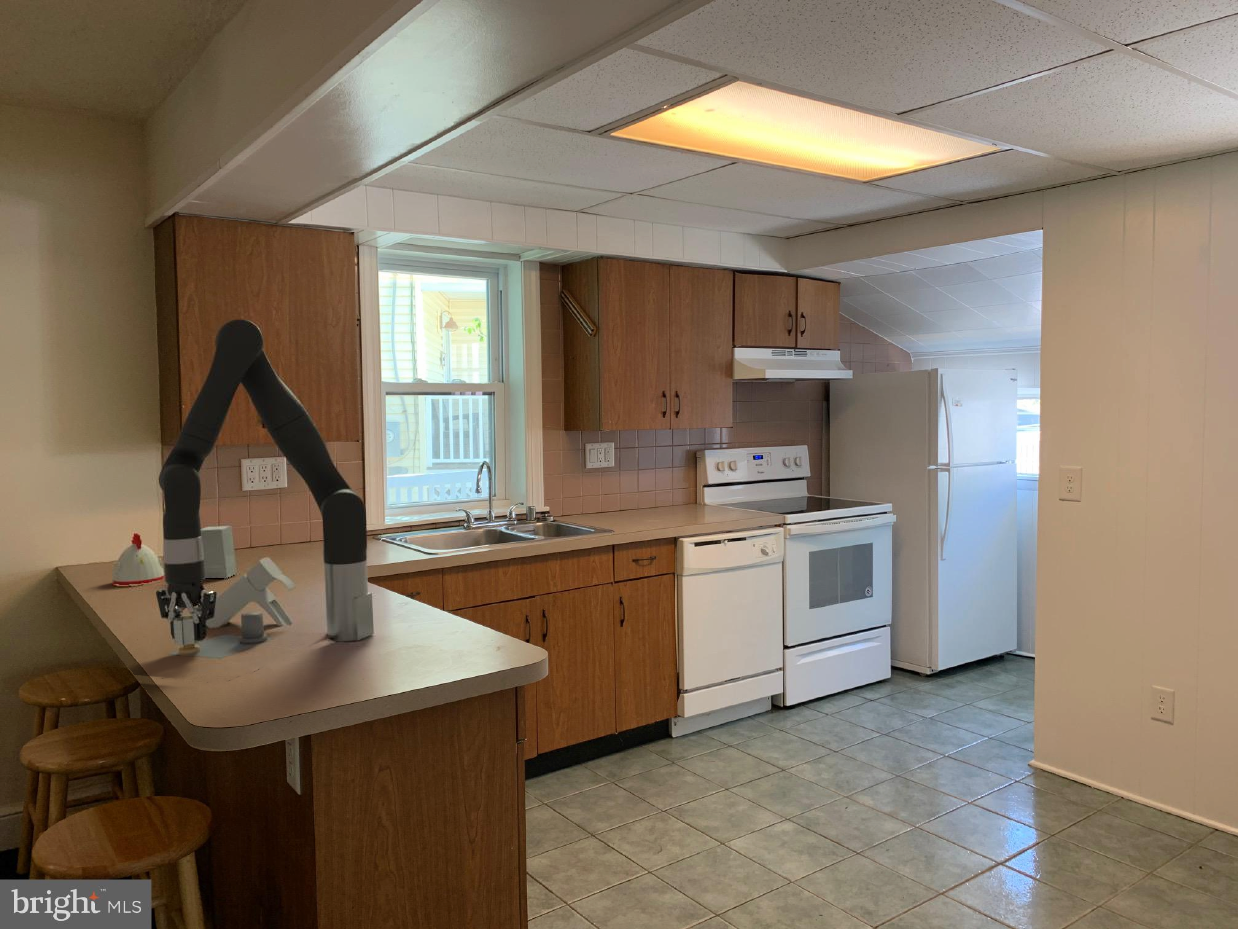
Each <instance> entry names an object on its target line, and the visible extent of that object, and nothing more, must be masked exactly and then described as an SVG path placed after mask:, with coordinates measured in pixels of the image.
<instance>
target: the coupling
mask: <svg viewBox="0 0 1238 929" xmlns="http://www.w3.org/2000/svg"><path fill="white" fill-rule="evenodd" d="M199 616H200V615H199ZM173 623H174V639H173V640H174V644H175V645H176V646H177V645H178V646H179V645H180V646H181V645H182V646H183V645H187V644H197V643H200V642H203V641H204V639H203V640H200V641H196V640H195V633H194V624H195V622H194V619H193V617H192V614H185V615H182V616H179V617H176V618H173Z"/></svg>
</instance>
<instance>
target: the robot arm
mask: <svg viewBox="0 0 1238 929" xmlns="http://www.w3.org/2000/svg"><path fill="white" fill-rule="evenodd" d="M214 340H215V341H214V344H215V345H214V346H215V351H214V356H213V360H212V363H211V365H210V369H209V372H208V375H207V376H206V379H205V380H204V383H203V385H202V387H201V388H200V391H199V393H198V395H197V397H196V398H195V400H194V402H193V403H192V406H191V408H190V410H189V412H188V414H187V416H186V419H185V420H184V423H183V425H182V427H181V429H180V432H179V435H178V437H177V441H176V443H175V444H174V446H173V448H172V450H171V451H170V453H169V454H168V456H167V458H166V459H165V462H164V463H163V466H162V468H161V470H160V472H159V476H158V484H159V487H160V489H161V490H162V491H163V496H164V498H163V499H164V508H165V510H164V511H165V512H164V514H163V519H162V520H163V521H162V526H163V527H162V528H163V546H162V547H163V550H162V551H163V564H164V565H163V571H164V582H165V583H166V584H168V586H167V587H166V588H162V589H159V590H156V592H155V595H156V599H157V600H156V601H157V604H158V609H159V612H160V613H159V614H160V617H161V619H167V620H168V622H169V624H170V635H171V637H172V640H175V639H174V623H173V618H176V617H179V616H183V611H185V609H187V611H188V613H189V615H192V617H193V619H194V622H195V624H194V633H195V640H196V641H200V640H203V641H204V640H206V637H207V626H206V621H207V620H209V619H211V618H213V617H214V613H215V604H216V597H217V596H218V595H217V591H216V590H210V591H209V590H206V589H205V587H204V585H203V582H204V580H205V579H204V578H205V569H204V552H203V543H202V538H201V529H202V528H201V525H202V523H201V518H200V517H201V516H200V507H201V497H202V495H201V493H202V492H201V491H202V490H201V489H202V488H201V487H202V486H201V484H202V483H201V478H200V475H199V474H200V471H201V468H202V466H203V464H204V461H205V459H206V458H207V457H208V456H210V454H211V453H212V451H213V449H214V447H215V445H216V442H217V440H218V437H219V435H220V433H221V431H222V429H223V427H224V424H225V421H226V418H227V415H228V412H229V409H230V407H231V404H232V402H233V399H234V398H235V397H234V396H235V394H236V393H237V390H238V388H239V386H240V384H241V385H242V386H243V388H244V389H245V391H246V393H247V394H248V396H249V398H250V400H251V402H252V404H253V407H254V408H255V411H256V412H257V415H258V416H259V418H260V420H261V422H262V423H263V425H264V426H265V429H266V430H267V432H268V433H269V436H270V438H272V439H271V440H273V442H274V443H275V445H276V447H277V448H278V449H279V451H280V453H281V454H282V455H283V456H284V457H285V459H286V460H287V461H288V463H289V464H290V465H291V467H292V468H294V470H295V472H297V473H298V475H299V476H300V477H301V478H302V479H303V481H304V483H305V484H306V486H307V487H308V489H309V491H310V492H311V494H312V496H313V499H314V501H315V504H316V505H317V507H318V510H319V512H320V515H321V518H322V539H323V551H322V552H323V554H322V555H323V571H324V572H323V573H324V574H323V575H324V594H325V596H324V597H325V616H326V618H325V619H326V632H327V636H330V637H328V638H327V640H329V641H333V642H351V641H352V642H353V641H361V640H363V639H365V638H368V637H370V636H372V635H374V634H375V633H374V610H373V609H374V608H373V606H374V605H373V593H371V592H369V589H368V588H369V586H368V585H369V583H368V561H367V559H368V558H367V555H368V554H367V553H368V552H367V551H368V535H367V533H368V532H367V531H368V530H367V529H368V528H367V512H366V511H367V510H366V506H365V503H364V501H363V499H362V498H361V497H360V495H358V494H357V493H356V492H355V491H354V490H353V488H351V486H350V485H349V484H348V482H347V481H346V480H345V478H344V477H343V475H342V474H341V473H340V472H339V471H338V469H337V467H336V466H335V464H334V462H333V459H332V457H331V455H330V453H329V450H328V448H327V445H326V443H325V441H324V438H323V437H322V435H321V433H320V431H319V429H318V427H317V425H316V424H315V421H313V419H312V417H311V415H310V414H309V413H308V411H307V409H306V408H305V406H304V405H303V403H302V402H301V401H300V400H299V398H297V396H296V395H295V394H294V393H293V391H292V390H290V388H289V387H288V386H287V385H286V384H285V383H284V382H283V381H282V380H281V378H280V377H279V376H278V374H277V372H276V371H275V369H274V368H273V366H272V364H271V363H270V360H269V359H268V357H267V354H266V353H265V350H264V348H263V347H264V336H263V334H262V331H261V330H260V328H259V327H258V325H257V324H255V323H254V322H252V321H250V320H249V319H248V320H247V319H243V318H236V319H232V320H230V321H227V322H226V323H224V324H223V325H222V326H221V327H220V328H219V329H218V331H217V333H216V337H215V339H214ZM198 612H199V614H200V616H199V615H198Z"/></svg>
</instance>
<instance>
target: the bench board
mask: <svg viewBox="0 0 1238 929" xmlns="http://www.w3.org/2000/svg"><path fill="white" fill-rule="evenodd" d="M240 619H241V620H240V623H241V635H234V634H232V635H230V634H221V635H218V636H214V637H212V638H209V639H205V640H203V641H201V642H198V643H195V644H187V645H182V647H179V648H178V649H177V650H174V651H172V652H168V653H167V655H172V656H185V657H187V656H188V657H196V658H198V657H200V658H210V659H212V658H213V659H225V658H227V657H229V656H232V655H234V654H236V653H239V652H242V651H245V650H247V649H250V648H253V647H256V646H259V645H261V644H263V643H266V642H269V641H272V640H274V639H275V638H272V637H267V636H268V634H267V633H264V632H265V630H264V613H263V612H262V611H249V612H244V613H241V614H240Z"/></svg>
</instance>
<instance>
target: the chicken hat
mask: <svg viewBox="0 0 1238 929" xmlns="http://www.w3.org/2000/svg"><path fill="white" fill-rule="evenodd" d="M112 572H113V574H112V585H113V584H119V585H129V584H141V583H149V582H152V581H158V580H162V579H163V578H164V579H165V570H164V565H163V562H162V558H161V557H158V556H157V554H156V553H155V552H154V551H153V550H152V549H151V548H149V547H148V546H147V545H145V544H142V539H141V534H139V533H133V536H132V539H131V545H129V546H127V548H126V549H124V550H123V551H122V553H121V554H120V555H119V557H118V559H117V561H114V563H113V570H112Z"/></svg>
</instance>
